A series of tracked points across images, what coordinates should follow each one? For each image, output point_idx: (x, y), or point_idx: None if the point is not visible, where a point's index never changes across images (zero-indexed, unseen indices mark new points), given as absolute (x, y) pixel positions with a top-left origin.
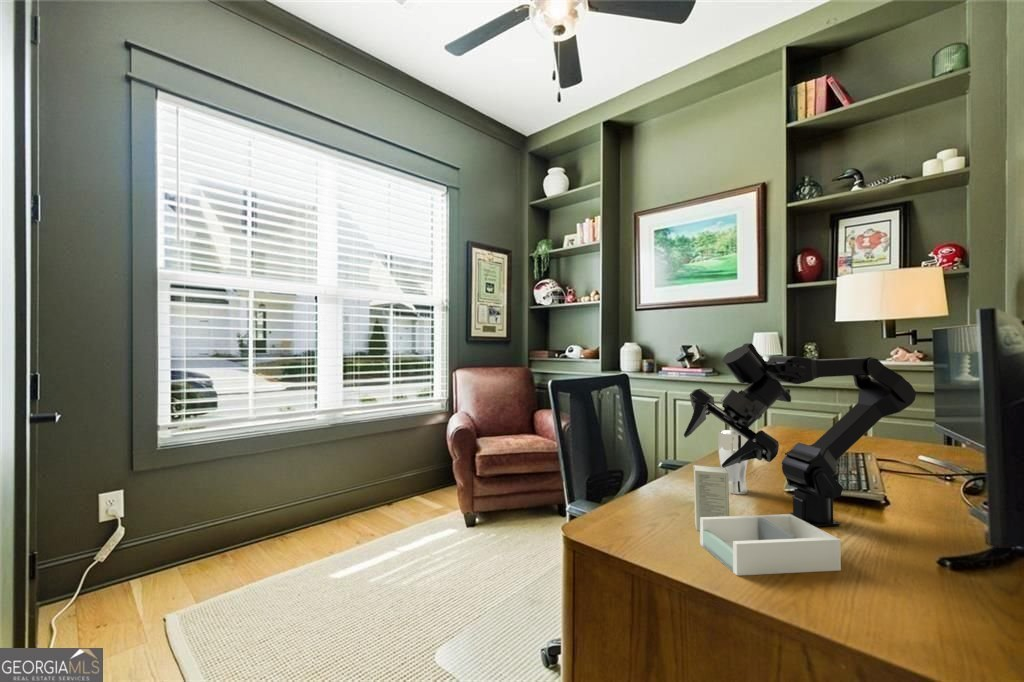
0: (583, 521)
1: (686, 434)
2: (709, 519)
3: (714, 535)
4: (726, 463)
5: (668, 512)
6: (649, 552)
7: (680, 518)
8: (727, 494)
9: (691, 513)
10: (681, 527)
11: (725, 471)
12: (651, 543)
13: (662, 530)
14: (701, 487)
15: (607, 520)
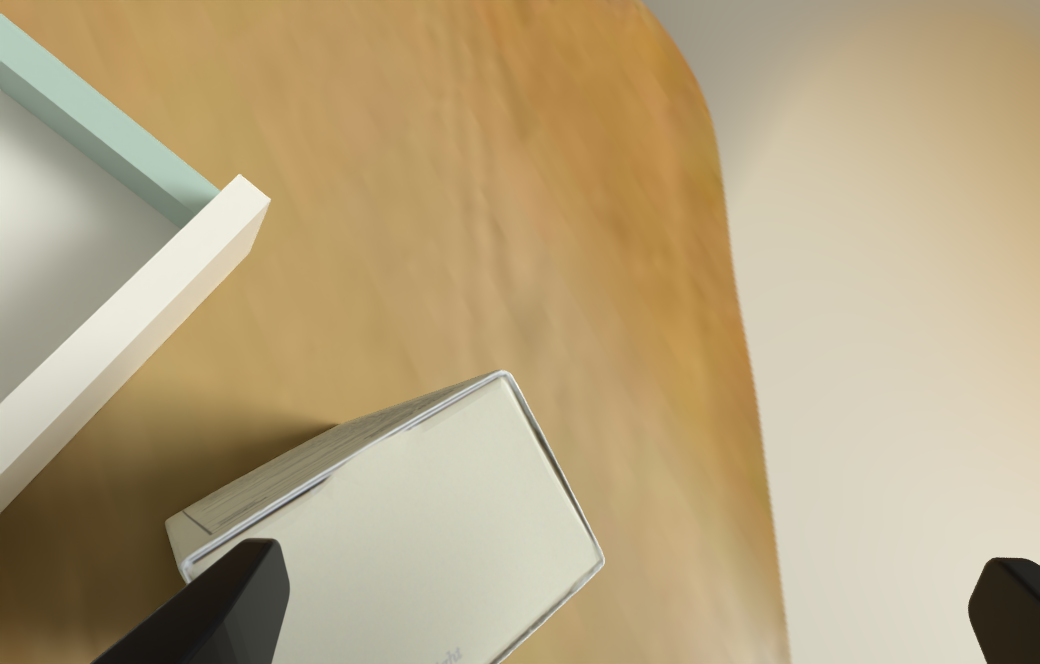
0: (705, 155)
1: (1012, 578)
2: (205, 207)
3: (141, 166)
4: (208, 569)
5: None
6: (386, 27)
7: None
8: (182, 531)
9: None
10: None
11: None
12: (426, 118)
13: (466, 292)
14: (398, 410)
15: (665, 227)
